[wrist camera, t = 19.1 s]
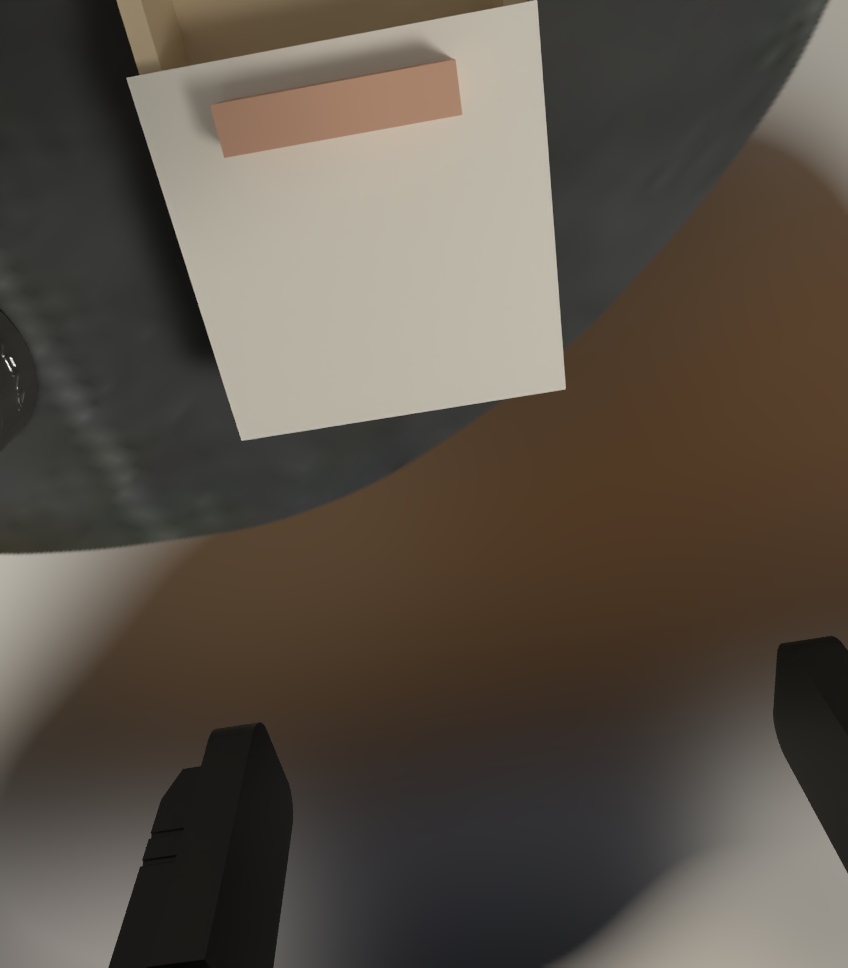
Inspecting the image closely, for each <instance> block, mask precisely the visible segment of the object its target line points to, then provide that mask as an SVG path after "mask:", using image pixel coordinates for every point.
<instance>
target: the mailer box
mask: <svg viewBox="0 0 848 968" xmlns="http://www.w3.org/2000/svg"><path fill="white" fill-rule="evenodd" d="M116 1H117V4H118V7H119V10H120V13H121V17H122V20H123V23H124V26H125V30H126V33H127V36H128V39H129V43H130V46H131V49H132V52H133V55H134V59H135V62H136V65H137V68H138V72H139V75H144V74H149V73H154V72H159V71H165V70H170V69H175V68H181V67H186V66H191V65H196V64H202V63H207V62H212V61H218V60H223V59H228V58H233V57H239V56H244V55H249V54H255V53H260V52H265V51H270V50H276V49H281V48H286V47H292V46H297V45H302V44H307V43H313V42H318V41H323V40H329V39H334V38H339V37H344V36H350V35H355V34H360V33H366V32H371V31H376V30H381V29H387V28H392V27H397V26H402V25H408V24H413V23H418V22H424V21H429V20H434V19H439V18H445V17H450V16H455V15H461V14H466V13H471V12H476V11H482V10H487V9H492V8H498V7H503V6H508V5H513V4H519V3H524V2H527V0H116Z"/></svg>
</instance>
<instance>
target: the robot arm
mask: <svg viewBox="0 0 848 968" xmlns="http://www.w3.org/2000/svg"><path fill="white" fill-rule="evenodd" d="M37 392H38V384H37V374H36V368H35V365H34V362H33V359H32V356H31V353H30V351H29V349H28V347H27V345H26V344H25V342H24V340H23V338H22V337H21V335H20V333H19V332H18V330H17V329H16V328H15V327H14V326H13V324H12V323H11V322H10V321H9V319H8V318H7V317H6V316H5V315H4V314H3V313H2V312H1V311H0V452H1V451H2V450H3V449H4V448H5V447H6V446H7V445H8V443H9V442H10V441H11V440H12V439H13V438H14V437H15V436H16V435H17V434H18V433H19V432H20V431H21V430H22V428H23V427H24V426H25V425H26V424H27V422H28V421H29V419H30V417H31V415H32V413H33V410H34V408H35V406H36V399H37ZM773 718H774V725H775V730H776V734H777V738H778V741H779V744H780V747H781V749H782V752H783V754H784V756H785V758H786V759H787V761H788V763H789V765H790V767H791V769H792V771H793V773H794V774H795V776H796V778H797V780H798V782H799V784H800V785H801V787H802V789H803V791H804V793H805V795H806V797H807V798H808V800H809V802H810V804H811V806H812V808H813V810H814V811H815V813H816V815H817V817H818V819H819V821H820V822H821V824H822V826H823V828H824V830H825V832H826V834H827V835H828V837H829V839H830V841H831V843H832V845H833V847H834V848H835V850H836V852H837V854H838V856H839V858H840V859H841V861H842V863H843V865H844V867H845V869H846V871H847V873H848V650H847V649H846V648H845V647H844V645H843V644H842V643H841V641H840V640H839V639H837V638H836V637H834V636H827V637H820V638H814V639H807V640H800V641H794V642H788V643H781V644H780V645H779V647H778V650H777V662H776V678H775V692H774V709H773ZM292 825H293V803H292V795H291V790H290V786H289V783H288V780H287V778H286V775H285V773H284V771H283V768H282V766H281V763H280V761H279V758H278V756H277V753H276V751H275V749H274V746H273V744H272V741H271V739H270V736H269V734H268V732H267V729H266V727H265V726H264V724H263V723H261V722H259V723H252V724H246V725H239V726H233V727H226V728H220V729H215V730H213V731H212V733H211V734H210V737H209V739H208V743H207V747H206V750H205V754H204V757H203V761H202V765H201V766H200V767H193V768H187V769H183V770H182V771H181V773H180V774H179V775H178V777H177V778H176V780H175V781H174V782H173V784H172V785H171V787H170V788H169V789H168V791H167V792H166V794H165V795H164V797H163V798H162V800H161V802H160V805H159V809H158V812H157V815H156V818H155V821H154V824H153V828H152V831H151V834H152V837H151V839H149V840H148V844H147V847H146V850H145V853H144V856H143V866H142V867H140V869H139V872H138V875H137V879H136V882H135V885H134V888H133V891H132V895H131V898H130V901H129V904H128V907H127V910H126V914H125V917H124V920H123V923H122V926H121V930H120V933H119V936H118V940H117V942H116V946H115V949H114V952H113V955H112V958H111V962H110V965H109V968H273V966H274V958H275V951H276V944H277V936H278V929H279V921H280V914H281V907H282V899H283V891H284V884H285V877H286V870H287V863H288V855H289V848H290V840H291V833H292Z"/></svg>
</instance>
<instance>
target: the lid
mask: <svg viewBox="0 0 848 968" xmlns="http://www.w3.org/2000/svg"><path fill="white" fill-rule="evenodd" d="M126 79H127V82H128V85H129V88H130V91H131V94H132V98H133V101H134V104H135V107H136V110H137V113H138V117H139V120H140V123H141V126H142V129H143V132H144V135H145V139H146V142H147V145H148V148H149V151H150V154H151V157H152V161H153V164H154V167H155V170H156V173H157V176H158V179H159V183H160V186H161V189H162V192H163V195H164V198H165V201H166V205H167V208H168V211H169V214H170V217H171V220H172V223H173V227H174V230H175V233H176V236H177V239H178V242H179V245H180V249H181V252H182V255H183V258H184V261H185V264H186V268H187V271H188V274H189V277H190V280H191V283H192V286H193V290H194V293H195V296H196V299H197V302H198V305H199V308H200V312H201V315H202V318H203V321H204V324H205V327H206V330H207V334H208V337H209V340H210V343H211V346H212V349H213V352H214V356H215V359H216V362H217V365H218V368H219V371H220V374H221V378H222V381H223V384H224V387H225V390H226V393H227V396H228V400H229V403H230V406H231V409H232V412H233V415H234V419H235V422H236V425H237V428H238V431H239V434H240V437H241V441H243V440H250V439H256V438H262V437H268V436H275V435H281V434H287V433H294V432H300V431H306V430H313V429H319V428H325V427H331V426H338V425H344V424H350V423H357V422H363V421H369V420H376V419H382V418H388V417H394V416H401V415H407V414H413V413H420V412H426V411H432V410H438V409H445V408H451V407H457V406H464V405H470V404H476V403H483V402H489V401H495V400H501V399H508V398H513V397H520V396H526V395H533V394H539V393H546V392H552V391H558V390H564V389H566V385H565V372H564V359H563V344H562V331H561V317H560V304H559V290H558V277H557V263H556V250H555V236H554V222H553V209H552V195H551V182H550V168H549V155H548V141H547V128H546V114H545V101H544V87H543V73H542V60H541V46H540V33H539V19H538V6H537V0H535V1H529V2H524V3H519V4H513V5H508V6H503V7H498V8H492V9H487V10H482V11H476V12H471V13H466V14H461V15H455V16H450V17H445V18H439V19H434V20H429V21H424V22H418V23H413V24H408V25H402V26H397V27H392V28H387V29H381V30H376V31H371V32H366V33H360V34H355V35H350V36H344V37H339V38H334V39H329V40H323V41H318V42H313V43H307V44H302V45H297V46H292V47H286V48H281V49H276V50H270V51H265V52H260V53H255V54H249V55H244V56H239V57H233V58H228V59H223V60H218V61H212V62H207V63H202V64H196V65H191V66H186V67H181V68H175V69H170V70H165V71H159V72H154V73H149V74H144V75H138V76H133V77H128V78H126Z"/></svg>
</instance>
